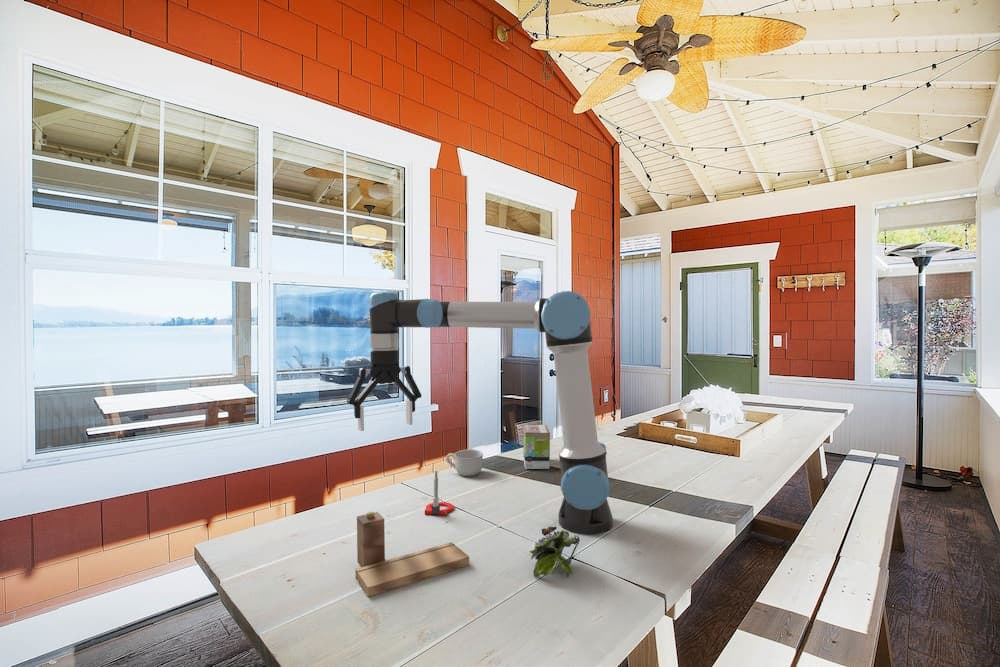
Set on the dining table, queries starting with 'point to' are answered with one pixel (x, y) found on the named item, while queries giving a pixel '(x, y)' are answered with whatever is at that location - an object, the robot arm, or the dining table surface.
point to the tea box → (536, 447)
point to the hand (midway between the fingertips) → (385, 427)
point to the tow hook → (437, 502)
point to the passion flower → (552, 551)
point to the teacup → (467, 462)
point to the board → (410, 568)
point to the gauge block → (370, 539)
